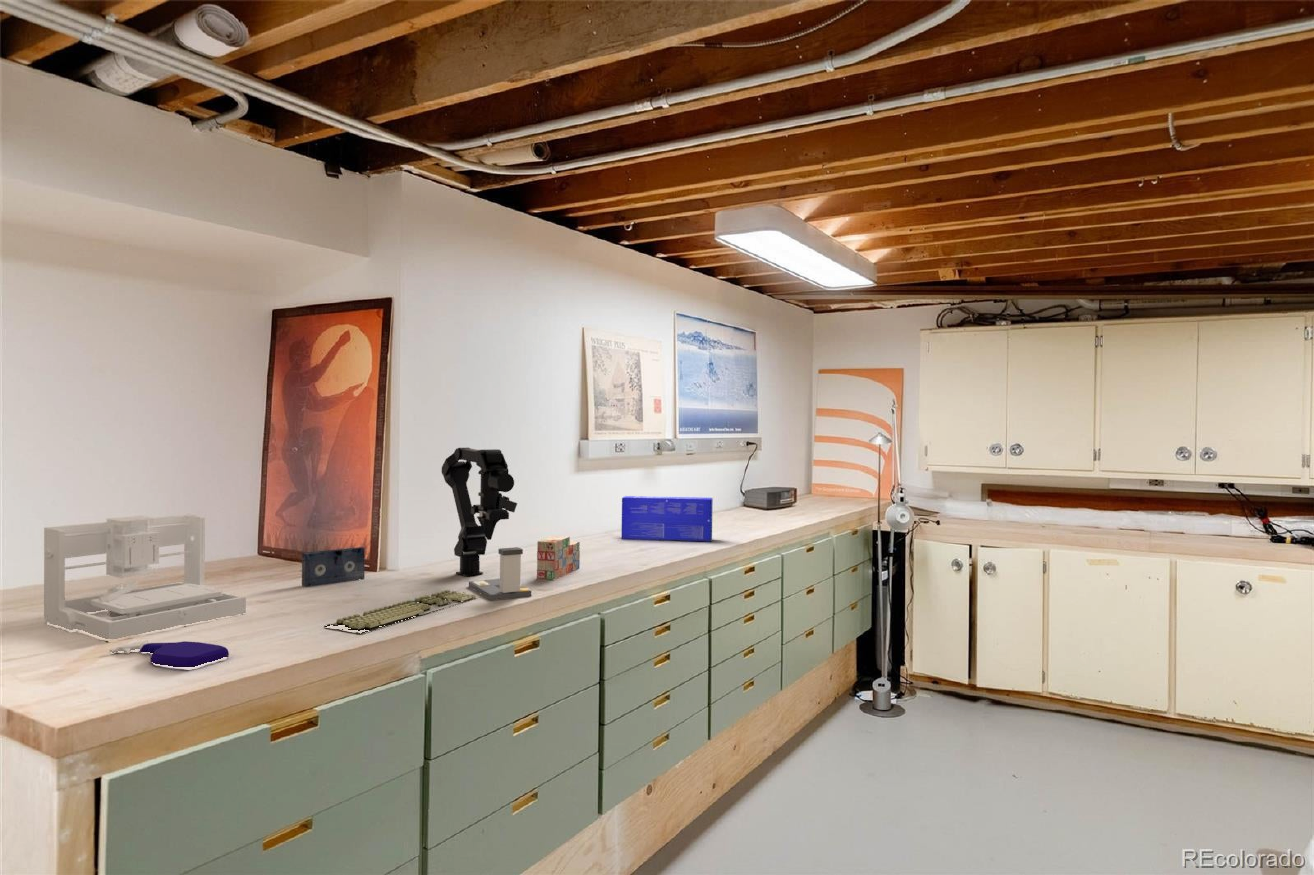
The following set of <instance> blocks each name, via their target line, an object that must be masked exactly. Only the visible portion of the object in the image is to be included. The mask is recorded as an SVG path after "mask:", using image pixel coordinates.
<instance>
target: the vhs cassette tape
mask: <svg viewBox="0 0 1314 875" xmlns="http://www.w3.org/2000/svg"><path fill="white" fill-rule="evenodd" d="M365 552H366V551H365V547H363V546H360V547H350V548H347V547H346V548H339V549H328V550H327V549H326V550H320V551H319V550H318V551H309V552H308V551H307V552H302V553H301V554H302V555H301V586H302V587H304V588H310V587H317V586H318V587H319V586H325V585H331V584H339V583H345V582H353V581H354V582H355V581H360V580H359V579H361V580H365V575H366V574H365V558H366V557H365V554H366V553H365Z"/></svg>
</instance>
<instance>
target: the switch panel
mask: <svg viewBox="0 0 1314 875" xmlns="http://www.w3.org/2000/svg"><path fill="white" fill-rule="evenodd" d="M468 587H469V588H470V589H472V590H473V589H474V590H473V591H475V592H477V593H478V594H480V593H481V594H480V595H481V596H484V597H485V598H487V599H488V598H489V599H488V600H489V601H497V600H496V599H499V600H505V599H504V598H508V599H514V598H515V599H516V598H525V597H526V598H527V597H532V590H531V589H530V588H527V587H525V586H523V585H522V584H520V591H517V592H507V593H503V592H501V591H500V578H494V579H492V578H491V579H482V580H472V581H468Z"/></svg>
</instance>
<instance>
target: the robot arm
mask: <svg viewBox="0 0 1314 875" xmlns="http://www.w3.org/2000/svg"><path fill="white" fill-rule="evenodd" d="M472 463H475V464H476V466H477V467H479V469H480V470H478V473H477V474H478V475H480V491H479V492H478V493H477V496H479V497H480V499H479V501H480V502H479V504H472V502H471V497H470V493H469V490H468V489H469V488H468V484H467V483H468V480H469V478H470V471H471V469H472V468H473V465H472ZM508 467H509V465H508V463H507V461H506V459H505V456H504V454H503V453H502V450H501V449H494V448H493V449H474V448H470V447H457V448H456V449H455V450H454V451H453V453H451V455H449V456H448V457H447V458H445V460H444V462H443V464H442V466H441V474H442V476H443V479H444V482H445V483H446V484H447V485H448V486H449V487H450V488H451V489H452V494H453V498H454V502H455V507H456V512H457V514H458V515H457V516H458V520H459V523H460V524H459V525H460V531H459V533H458V536H457V539H458V541H457V542H456V545H454V548H453V552H454V556H456V557H458V558H459V571H455V574H456V575H460V576H464V577H470V576H476V575H483V574H484V571H480V569H481V568H480V564H481V563H480V555H481V556H485V554H486V550H487V544H488V541H490V540H492V538H493V536H494V535H493V534H494V531H495V528H496V525H497V523H498V522H499V521H502V520H509V519H510V513H515V511H516V508H517V506H518V503H517V502H515V501H512V500H510V497H509V496H505V495H503V493H508V492H511V490H512V489H513V488H514V486H515V479H514V477H513V476H512V474H510V473H509V469H508ZM509 512H510V513H509ZM476 514H478V516H476V518H475V515H476ZM476 519H477V520H478V522H479V524H480V525H478V523H477V520H476Z"/></svg>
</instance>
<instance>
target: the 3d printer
mask: <svg viewBox="0 0 1314 875" xmlns="http://www.w3.org/2000/svg"><path fill="white" fill-rule="evenodd" d="M205 520H206V518H205V516H202V515H201V516H200V515H197V514H196V515H195V514H194V515H193V514H182V515H179V514H178V515H169V516H158V517H149V516H144V515H135V516H123V517H114V518H113V517H112V518H106V521H104V522H93V523H91V522H90V523H81V524H70V525H59V526H49V527H47V526H46V527H44V528H43V530H44V531H43V533H44V534H43V535H44V536H43V537H44V539H43V542H44V543H43V546H44V547H43V574H44V575H43V616H44V620H45V623H46V622H49V623H50V624H53V625H58V626H61V627H64V628H66V629H69V630H73V629H78V630H83V631H85V632H88V633H90V634H93V635H97V636H99V637H102V638H105V639H118V638H122V637H126V636H131V635H138V634H142V633H146V632H151V631H155V630H162V629H166V628H170V627H174V626H178V625H186V624H192V623H196V622H200V621H208V620H212V619H216V618H221V617H226V616H235V615H238V614H243V613H246V614H247V597H246V596H243V595H239V594H235V593H231V592H227V591H223V590H222V589H221V590H220V589H217V588H213V587H211V586H209V585H205V542H206V541H205V540H206V539H205V536H206V534H205V528H206V526H205V524H206V523H205ZM179 545H183V546H184V551H179V552H178V551H177V552H171V553H163V554H160V548H163V547H169V546H179ZM104 554H106V555H105V556H106V557H105V558H106V561H102V562H95V563H94V562H93V563H87V564H86V563H85V564H79V565H78V564H77V565H71V566H66V559H71V558H81V557H88V556H97V555H104ZM178 555H179V556H180V555H184V559H183V561H184V568H183V569H184V572H183V573H184V574H183V578H184V579H183V581H177V582H171V583H164V584H158V585H153V586H146V587H141V588H138V586H139V583H140V582H139V581H137V580H133V581H131V582H128V583H126V584H125V585H123V583H119V584H115V585H114V586H112V588H108V589H107V593H102V594H97V595H96V594H95V595H90V596H85V597H84V596H83V597H77V598H72V599H66V597H65V595H66V589H65V588H66V586H65V585H66V571H67V570H71V569H72V570H74V569H80V568H82V569H83V568H89V567H95V566H96V567H97V566H104V565H105V566H106V567H105V568H106V572H105V573H106V574H105V575H107V576H111V577H115V578H119V579H124V578H131V577H138V576H143V575H144V576H146V575H151V574H156V568H153V567H149V566H150V565H155V564H156V565H157V564H159V563H160V558H165V557H171V556H178ZM105 609H106V610H108V612H107V616H108V617H109V618H113V619H114V618H118V617H123V616H124V617H125V616H127V617H126V618H121V619H117V620H110V619H107V618H103V617H100V616H98V615H95V614H92V615H91V614H88V613H87V612H96V611H101V610H105ZM235 617H236V616H235Z"/></svg>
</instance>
